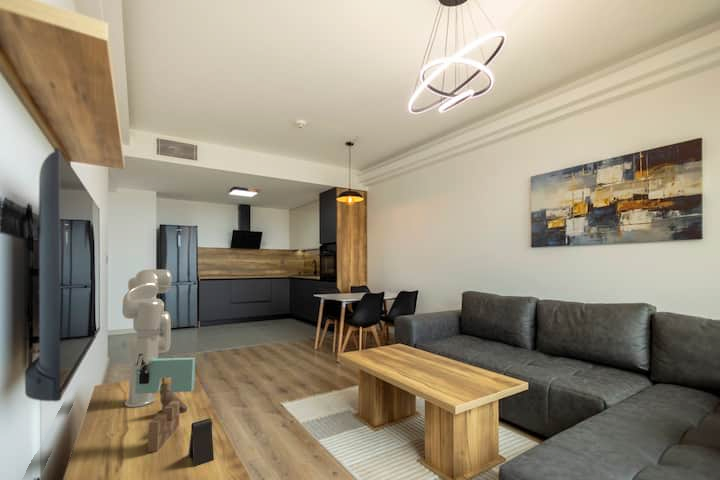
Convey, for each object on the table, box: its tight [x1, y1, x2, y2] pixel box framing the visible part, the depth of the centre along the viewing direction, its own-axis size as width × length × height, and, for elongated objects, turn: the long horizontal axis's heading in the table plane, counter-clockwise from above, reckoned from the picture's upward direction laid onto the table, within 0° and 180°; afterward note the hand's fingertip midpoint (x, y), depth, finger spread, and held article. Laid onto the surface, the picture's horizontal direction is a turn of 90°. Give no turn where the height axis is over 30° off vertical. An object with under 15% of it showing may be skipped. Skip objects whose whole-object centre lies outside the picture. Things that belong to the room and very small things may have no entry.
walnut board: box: [147, 399, 181, 453], centre depth 131 cm, size 20×3×10 cm, turn 8°
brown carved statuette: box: [156, 378, 188, 416], centre depth 152 cm, size 12×6×18 cm, turn 122°
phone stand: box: [187, 418, 215, 467], centre depth 118 cm, size 9×6×12 cm, turn 38°
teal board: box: [135, 357, 196, 394], centre depth 132 cm, size 3×20×12 cm, turn 98°
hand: (146, 381), depth 131 cm, fingers closed on teal board, 3 cm apart
